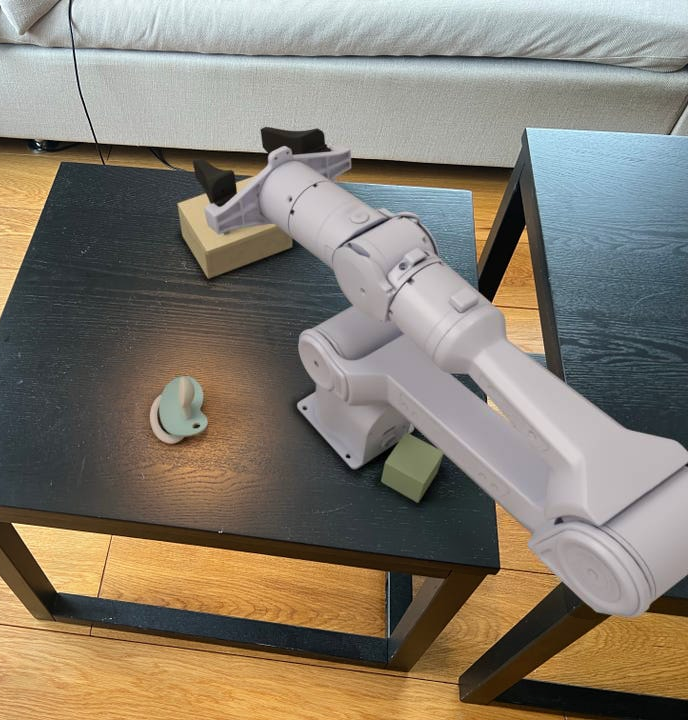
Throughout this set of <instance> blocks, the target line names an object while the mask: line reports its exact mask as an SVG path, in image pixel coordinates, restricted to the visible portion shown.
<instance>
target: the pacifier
mask: <svg viewBox="0 0 688 720" xmlns="http://www.w3.org/2000/svg"><path fill="white" fill-rule="evenodd" d="M203 403H204V391H203V387H202V386H201V384H200V383H199V382H198V381H197V380H196V379H195V378H193V377H192V376H186V375H182V376H177V377H175V378H173V379H172V380H171V381H170V382H168V383H167V384H166V385H165V387H164V389H162V393H161V394H159V395H158V396H157V397H156V398H155V399H154V401H153V402H152V404H151V407H150V412H149V422H150V427H151V429H152V432H153V434H154V435H155V436H156V437H157V439H159V440H160V441H161V442H163V443H165V444H171V445H173V444H177V443H179V442H181V441H182V440H183V439H184V438H185V437H193V436H197V435H199V434H201V433H203V432H204V431H205V430H206V429H207V427H208V417H207V416H206V415H205V414H204V412H202V410H201V408H202V406H203ZM159 418H160V423H161V424H162V427H163V428H164V429H165V431H164V430H163V429H162V428H161V425H160V424H159ZM197 425H198V426H199V427H196V428H195V426H197Z"/></svg>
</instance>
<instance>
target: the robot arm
mask: <svg viewBox="0 0 688 720" xmlns="http://www.w3.org/2000/svg"><path fill="white" fill-rule="evenodd" d="M260 137H261V146H262V148H263V150H264V151H265V152H266V153H267V154H268V156H267V165H266V166H265V167H264V168H263V169H262V170H261V171H260V172H259V173H258V174H256V175H257V176H256V175H255V176H256V177H254V178H253V179H252V180H251V181H250V182H249V183H248V184H247V185H246V186H245V187H243V188H242V189H241V190H240V191H239V192H238V193H237V187H236V183H237V181H236V176H235V172H234V170H232V169H229V170H227V169H222V168H218V167H215V166H214V165H212V164H211V163H210V162H208V161H207V160H205V158H202V157H198V158H195V159H194V160H192V166H193V171H194V174H195V179H196V180H197V182H198V183H199V185H200V186H201V187H202V189H203V191H204V192H205V193H204V194H207V197H208V199H209V201H210V205H208V206H205V207H204V210H205V215H206V220H207V224H208V226H209V227H210V228H211V229H213V230H214V231H215V232H216V233H217V234H218V235H219V234H222V233H224V232H226V231H229V230H233V229H238V228H245V227H252V226H259V225H266V224H273V223H274V224H275V225H276V226H277V227H279V228H280V229H281V230H283V231H284V232H285V233H286V234H288V235H289V236H290V237H292V240H294V241H295V242H296V243H298V244H299V245H300V246H302V247H303V248H304V249H306V250H307V251H309V253H311V254H312V255H314V257H316V258H317V259H318V260H320V261H321V262H322V263H324V264H325V265H326V266H328V267H329V268H330V269H331V270H333V273H334V276H335V279H336V281H337V284H338V286H339V288H340V290H341V291H342V293H343V295H344V296H345V298H346V299H347V300H348V301H349V302H350V304H351V306H349V307H347V308H346V309H344V310H342V311H340V312H339V313H337V314H335V315H334V316H332V317H330V318H328V319H326V320H325V321H323V322H321V323H319V324H318V325H316V326H314V327H312V328H307V329H305V330H303V331H302V332H301V333H300V334H299V337H298V347H297V349H298V355H299V357H300V360H301V363H302V365H303V368H304V369H305V371H306V373H307V374H308V376H309V377H310V378H311V380H313V382H314V383H315V391H314V392H313V393H311V394H309V395H307V396H306V397H305V398H303V399H301V400H300V401H298V402H297V403H296V404H297V405H296V408H297V410H298V411H299V412H300V413H301V414H302V415H303V416H304V418H305V419H306V420H307V421H308V422H309V423H310V424H311V425H312V426H313V428H315V430H316V431H317V432H318V434H319V435H320V436H321V437H322V438H323V439H324V440H325V441H326V442H327V443H328V444H329V446H331V448H332V449H333V450H334V451H335V452H336V453H337V455H339V456H340V457H341V459H342V460H343V462H345V463H346V465H347V466H348V467H349V468H350V469H351V470H358V469H360V468H361V467H363V466H364V465H366V464H367V463H368V462H370V461H372V460H374V459H375V458H376V457H378V456H379V455H381V454H382V453H383V452H385V451H387V450H388V449H390V448H391V447H393V446H394V445H397V444H398V442H399V441H400V439H401V438H402V436H403V435H404V433H405V432H407V433H409V434H411V435H412V433H413V432H414V430H415V429H416V430H417V431H418V432H420V433H421V435H423V436H424V437H425V438H426V439H427V440H428V441H429V442H430V443H432V444H433V445H434V447H435V448H437V449H439V450H440V451H441V452H443V453H444V454H443V455H444V456H446V457H447V458H448V459H449V460H450V461H451V462H452V463H453V464H454V465H455V466H457V467H458V468H459V469H460V470H461V471H462V472H463V473H465V475H466V476H467V477H468V478H470V479H471V480H472V482H474V483H475V484H476V485H477V486H478V488H480V489H481V490H482V491H484V492H485V494H487V495H488V496H489V497H490V498H491V499H492V500H493V501H494V502H495V503H497V504H498V505H499V506H500V507H501V508H502V509H503V510H504V511H506V513H508V515H509V516H511V517H512V518H513V519H514V520H515V521H516V522H517V523H518V524H519V525H520V526H521V527H523V528H524V529H525V530H526V531H527V532H528V533H529V534H530V535H531V537H530V538H529V539H528V541H527V543H526V546H527V548H528V549H529V551H531V552H532V554H533V555H535V557H537V558H538V559H539V561H540V562H541V564H543V565H544V566H545V567H546V568H547V569H548V570H549V571H551V572H552V574H553V575H555V576H556V577H557V578H558V579H559V580H560V581H561V582H562V583H563V584H565V586H566V587H568V588H569V590H571V591H572V592H573V593H574V594H575V595H576V596H577V597H578V598H579V599H580V600H581V601H582V602H584V603H585V604H586V605H587V606H588V607H590V608H591V609H592V610H593V611H594V612H596V613H599V614H605V615H610V616H615V617H621V618H626V619H627V618H629V619H633V618H638V617H639V616H642V615H643V614H644V613H645V612H647V611H648V610H649V609H650V607H651V604H652V603H653V602H655V601H656V600H657V599H658V598H660V597H662V595H664V594H665V593H666V592H668V591H669V590H670V589H671V588H672V587H674V586H675V585H676V584H678V583H679V582H680V581H682V580H683V579H684V578H685V577H686V576H688V450H687V449H686V448H685V447H684V446H683V445H682V444H681V443H679V441H676V440H675V439H671V438H667V437H662V436H658V435H654V434H649V433H645V432H640V431H636V430H632V429H628V428H627V427H625V426H623V425H622V424H620V423H619V422H618V421H616V420H615V419H614V418H613V417H611V416H610V415H609V414H607V413H606V412H605V411H603V410H602V409H600V408H599V407H598V406H596V405H595V404H594V403H593V402H591V401H590V400H588V399H587V398H586V397H585V396H583V394H581V393H579V392H578V391H577V390H575V389H574V388H572V387H571V386H570V385H569V384H567V382H565V381H563V380H562V379H561V378H559V377H558V376H557V375H555V374H554V373H553V372H551V371H550V370H549V369H547V368H546V367H545V366H544V365H543V364H541V363H540V362H538V360H537V361H536V360H535V359H534V358H533V357H531V356H530V355H529V354H528V353H526V352H525V351H523V349H521V348H520V347H518V346H517V345H516V344H515V343H513V342H512V341H510V340H509V339H508V336H507V324H506V323H507V322H506V317H505V315H504V313H503V311H502V310H500V309H499V308H498V307H497V306H495V304H493V303H492V302H491V301H490V300H489V299H487V298H486V297H485V296H484V295H483V294H482V293H481V292H479V291H478V290H477V289H476V288H475V287H474V286H472V285H471V284H470V283H469V282H468V281H467V280H466V279H465V278H463V277H462V276H461V275H460V274H459V273H457V271H455V269H453V268H452V267H451V266H450V265H448V263H446V262H445V261H444V260H442V259H441V258H440V250H439V247H438V244H437V242H436V239H435V237H434V236H433V234H432V233H431V231H430V230H429V229H428V228H427V226H426V225H424V224H423V223H422V222H421V219H420V216H419V215H417V214H416V213H414V212H410V211H405V210H404V211H400V212H396V213H394V212H391V211H390V210H389V209H387V208H385V207H381V208H379V209H378V208H376V209H375V208H373V207H372V206H370V205H369V204H368V203H365V202H364V201H363V200H361V199H359V198H358V197H357V196H355V195H353V194H352V193H350V192H349V191H347V190H346V189H344V188H343V187H342V186H339V185H338V184H337V183H335V182H334V181H335V180H336V179H337V178H338V177H340V176H341V175H342V174H344V173H346V172H347V171H349V170H351V169H352V150H351V148H349V147H347V145H344V144H342V143H341V142H339V141H337V142H335V143H333V144H331V145H329V146H328V144H326V136H325V133H324V131H323V130H321V129H319V127H317V128H313V129H306V130H289V129H288V130H287V129H282V128H276V127H271V126H264V127H262V128H260ZM453 374H456V375H469V377H470V378H471V379H472V380H473V381H474V383H476V385H477V386H478V387H479V388H480V389H481V390H482V392H483V393H484V394H485V395H486V396H487V397H488V398H489V400H490V401H491V402H492V403H493V404H494V405H495V407H496V408H497V409H498V410H499V411H500V412H501V413H502V415H501V414H500V413H499V412H497V411H496V410H495V409H494V408H492V406H490V405H489V404H488V403H487V402H485V401H484V400H483V399H482V398H481V397H479V396H478V395H477V394H476V393H474V392H473V391H472V390H471V389H470V388H468V387H467V386H466V385H465V384H463V383H462V382H461V381H460V380H459V379H457V378H456V377H455V376H453ZM503 415H504V416H505V417H504V416H503ZM349 457H350V458H349Z"/></svg>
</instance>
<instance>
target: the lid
mask: <svg viewBox="0 0 688 720" xmlns="http://www.w3.org/2000/svg"><path fill="white" fill-rule="evenodd" d="M257 175H258V174H256V175H254V176H251V177H248V178H245V179H243V180H240V181H239V180H238V181H236V187H237V193H238V192H239V191H240V190H241V189H242V188H243V187H245V186H246V185H247V184H248V183H249V182H250V181H251V180H252V179H253V178H254V177H256V176H257ZM208 205H210V201H209V199H208V197H207V194H206V193H202V194H200V195H197V196H194V197H192V198H188V199H186V200H183V201H180V202H178V203H177V209H178V208H179V210H180V212H181V213H182V215H183V216H184V218H185V220H186V221H187V223H188V225H189V226H190V228H191V229H192V231H193V233H194V234H195V236H196V238H197V239H198V241H199V243H200V244H201V246H202V247H203V249H204V251H205V252H206V254H207V255H210V254H213V253H215V252H218V251H221V250H224V249H226V248H229V247H232V246H234V245H237V244H240V243H242V242H245V241H248V240H251V239H253V238H256V237H259V236H261V235H264V234H267V233H269V232H272V231H275V230H278V229H280V228H279V227H277V226H276V225H275V224H274V223H273V224H266V225H259V226H252V227H245V228H238V229H233V230H229V231H226V232H224V233H222V234H219V235H218V234H217V233H216V232H215V231H214V230H213V229H211V228H210V227H209V226H208V224H207V220H206V215H205V210H204V207H205V206H208Z"/></svg>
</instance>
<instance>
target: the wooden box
mask: <svg viewBox="0 0 688 720" xmlns="http://www.w3.org/2000/svg"><path fill="white" fill-rule="evenodd" d="M177 211H178V217H179V225H180V230H181V236H182V238H183V240H184V241H185V242H186V244H187V246H188V248H189V249H190V251H191V253H192V254H193V256H194V258H195V259H196V261H197V263H198V264H199V266H200V268H201V269H202V271H203V273H204V274H205V276H206V278H207V279H212V278H215V277H218V276H220V275H223V274H225V273H228V272H230V271H233V270H235V269H238V268H241V267H243V266H246V265H249V264H251V263H254V262H258V261H259V260H262V259H264V258H268V257H270V256H273V255H275V254H278V253H281V252H284V251H286V250H289V249H291V248H293V238H292V237H290V236H289V235H288V234H286V233H285V232H284V231H283V230H281V229H278V230H275V231H272V232H269V233H267V234H264V235H261V236H259V237H256V238H253V239H251V240H248V241H245V242H242V243H240V244H237V245H234V246H232V247H229V248H226V249H224V250H221V251H218V252H215V253H213V254H210V255H207V254H206V252H205V251H204V249H203V247H202V246H201V244H200V243H199V241H198V239H197V238H196V236H195V234H194V233H193V231H192V229H191V228H190V226H189V225H188V223H187V221H186V220H185V218H184V216H183V215H182V213H181V212H180V210H179V208H178V207H177Z"/></svg>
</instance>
